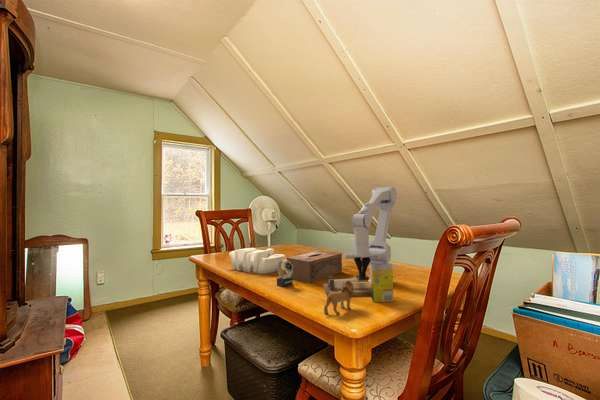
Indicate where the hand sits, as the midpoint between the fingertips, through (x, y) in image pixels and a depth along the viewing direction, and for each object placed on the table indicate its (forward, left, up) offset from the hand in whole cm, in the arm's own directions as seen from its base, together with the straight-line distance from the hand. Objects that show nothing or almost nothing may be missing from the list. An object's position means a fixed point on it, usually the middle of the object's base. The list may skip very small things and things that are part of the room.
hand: (362, 276), depth 115 cm
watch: (+32, -11, -6) cm, 34 cm away
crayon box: (-4, +12, -6) cm, 14 cm away
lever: (+6, 0, -4) cm, 7 cm away
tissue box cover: (+17, -27, -6) cm, 32 cm away
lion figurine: (+13, +19, -6) cm, 24 cm away
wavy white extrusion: (+49, -43, -6) cm, 65 cm away
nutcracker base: (+6, 0, -6) cm, 8 cm away
